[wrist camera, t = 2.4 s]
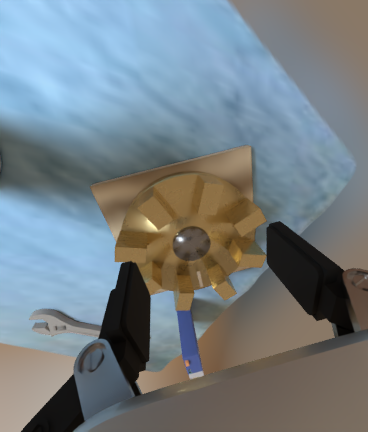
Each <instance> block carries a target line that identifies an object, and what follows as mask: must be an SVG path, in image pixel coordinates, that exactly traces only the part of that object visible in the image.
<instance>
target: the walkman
mask: <svg viewBox="0 0 368 432" xmlns="http://www.w3.org/2000/svg"><path fill="white" fill-rule="evenodd" d="M177 315H178V324H179V332H180V340H181V348H182V356H183V360H184V363H185V366H186V369H187V372H188V375H189V377H190V379H192V378H195V377H201V376H203V375H204V374H203V368H202V363H201V358H200V354H199V348H198V343H197V338H196V333H195V328H194V323H193V318H192V314H191V310H187V311H177Z"/></svg>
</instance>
